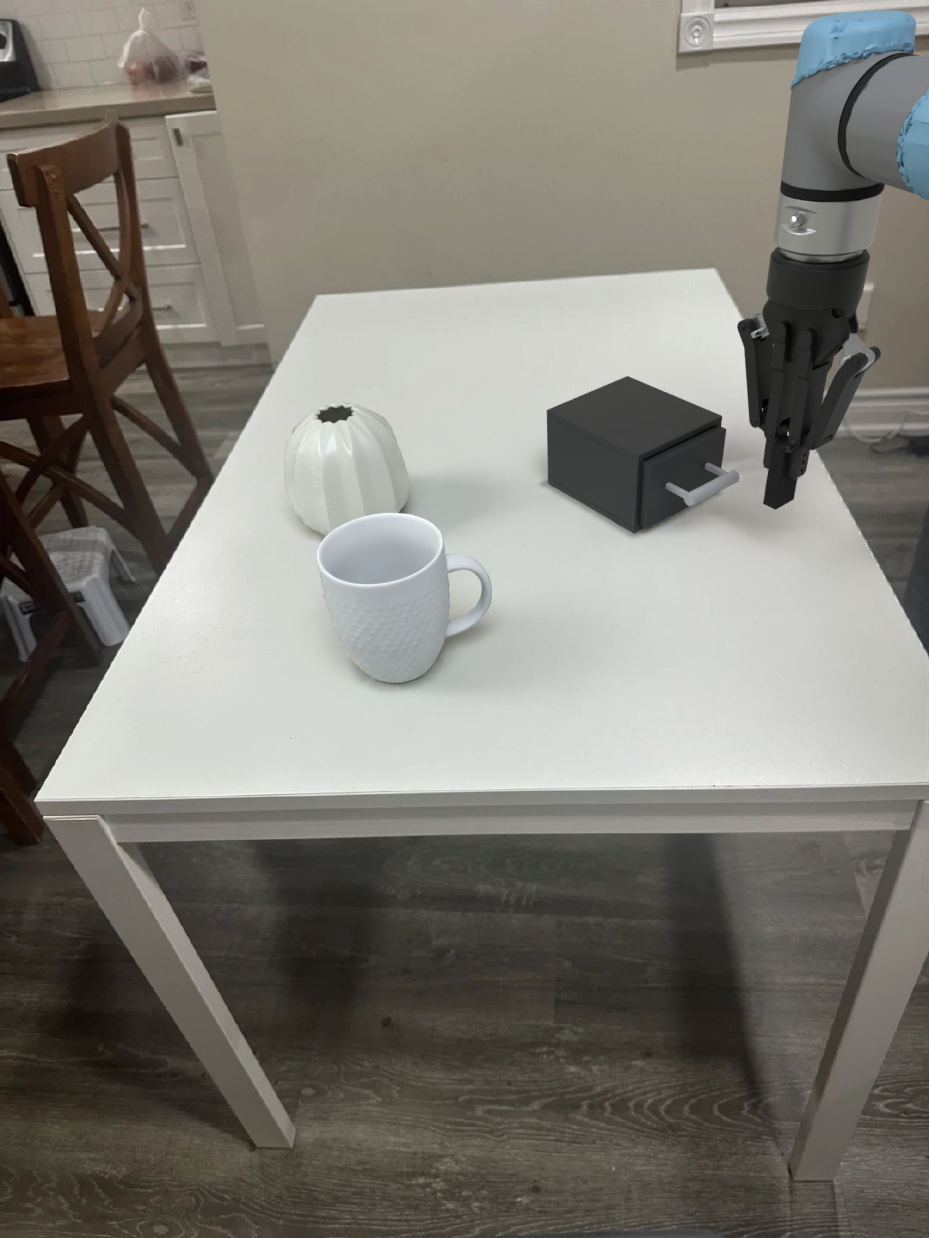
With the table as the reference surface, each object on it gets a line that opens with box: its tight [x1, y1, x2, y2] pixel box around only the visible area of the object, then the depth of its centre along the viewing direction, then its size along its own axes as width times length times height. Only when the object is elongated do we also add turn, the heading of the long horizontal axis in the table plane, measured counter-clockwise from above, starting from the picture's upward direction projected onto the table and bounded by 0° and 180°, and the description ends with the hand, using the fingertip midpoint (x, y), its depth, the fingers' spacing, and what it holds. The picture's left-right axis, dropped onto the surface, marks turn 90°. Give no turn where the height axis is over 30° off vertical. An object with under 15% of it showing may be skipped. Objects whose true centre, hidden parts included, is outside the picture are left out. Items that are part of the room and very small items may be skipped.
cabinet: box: [546, 375, 723, 534], centre depth 99 cm, size 15×13×10 cm
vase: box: [283, 401, 411, 537], centre depth 97 cm, size 14×14×13 cm
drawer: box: [639, 425, 741, 530], centre depth 96 cm, size 18×11×8 cm, turn 36°
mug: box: [316, 512, 493, 684], centre depth 78 cm, size 15×11×13 cm
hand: (778, 501), depth 84 cm, fingers closed
